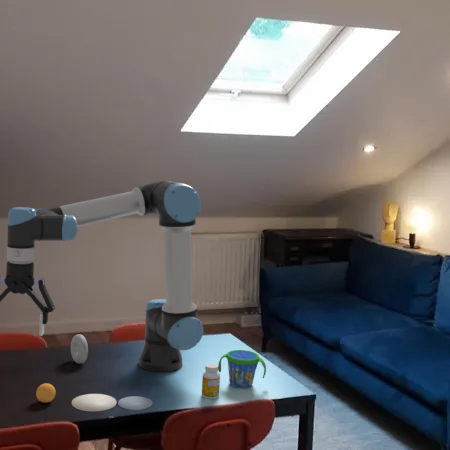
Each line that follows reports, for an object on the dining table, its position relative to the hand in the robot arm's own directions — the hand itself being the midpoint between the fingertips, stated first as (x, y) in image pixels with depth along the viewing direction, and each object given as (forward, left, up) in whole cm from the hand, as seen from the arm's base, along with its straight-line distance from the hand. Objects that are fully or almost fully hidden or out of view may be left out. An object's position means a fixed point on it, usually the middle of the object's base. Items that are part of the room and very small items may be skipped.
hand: (18, 333), depth 200 cm
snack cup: (-69, -15, -20) cm, 73 cm away
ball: (-9, +2, -17) cm, 19 cm away
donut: (-15, -33, -20) cm, 41 cm away
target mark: (-23, +2, -20) cm, 30 cm away
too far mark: (-35, +2, -20) cm, 40 cm away
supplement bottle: (-58, -5, -20) cm, 61 cm away
